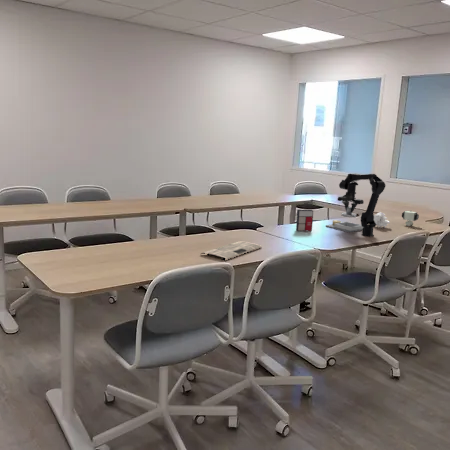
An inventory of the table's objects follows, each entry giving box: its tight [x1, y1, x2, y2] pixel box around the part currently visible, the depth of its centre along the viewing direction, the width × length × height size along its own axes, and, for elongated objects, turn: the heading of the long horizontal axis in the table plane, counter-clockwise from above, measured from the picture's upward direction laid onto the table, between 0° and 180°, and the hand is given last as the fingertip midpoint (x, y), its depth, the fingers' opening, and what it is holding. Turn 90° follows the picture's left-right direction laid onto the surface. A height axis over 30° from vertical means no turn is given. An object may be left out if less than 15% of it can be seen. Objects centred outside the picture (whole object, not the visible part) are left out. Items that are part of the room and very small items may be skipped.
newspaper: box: [200, 240, 263, 261], centre depth 270 cm, size 37×19×3 cm, turn 144°
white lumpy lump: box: [373, 211, 390, 229], centre depth 352 cm, size 11×12×12 cm
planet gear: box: [340, 206, 358, 218], centre depth 339 cm, size 11×11×6 cm
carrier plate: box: [325, 220, 363, 233], centre depth 346 cm, size 22×17×4 cm
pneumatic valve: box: [401, 210, 420, 227], centre depth 364 cm, size 6×12×12 cm, turn 49°
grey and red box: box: [295, 209, 314, 232], centre depth 331 cm, size 11×4×15 cm, turn 101°
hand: (349, 211), depth 339 cm, fingers closed on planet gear, 4 cm apart
